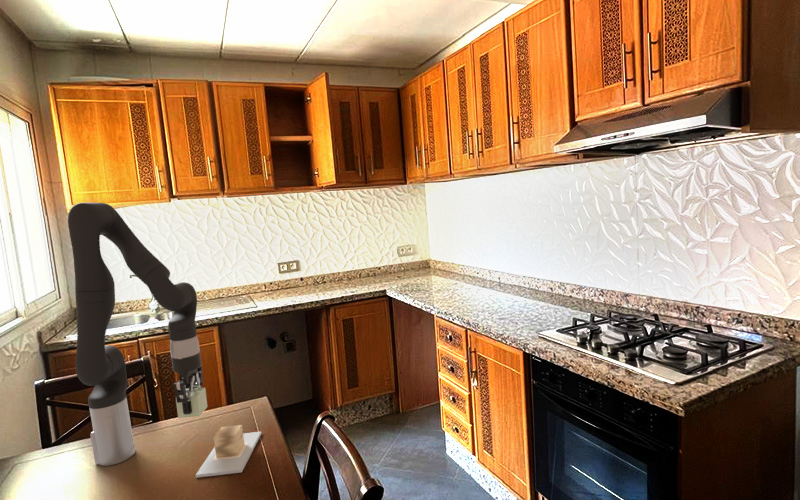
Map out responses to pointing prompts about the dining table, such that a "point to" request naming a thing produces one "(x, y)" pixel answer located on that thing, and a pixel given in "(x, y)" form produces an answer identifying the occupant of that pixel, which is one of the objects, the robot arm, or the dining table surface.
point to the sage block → (194, 403)
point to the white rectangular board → (229, 459)
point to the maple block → (229, 441)
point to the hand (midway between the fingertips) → (192, 408)
